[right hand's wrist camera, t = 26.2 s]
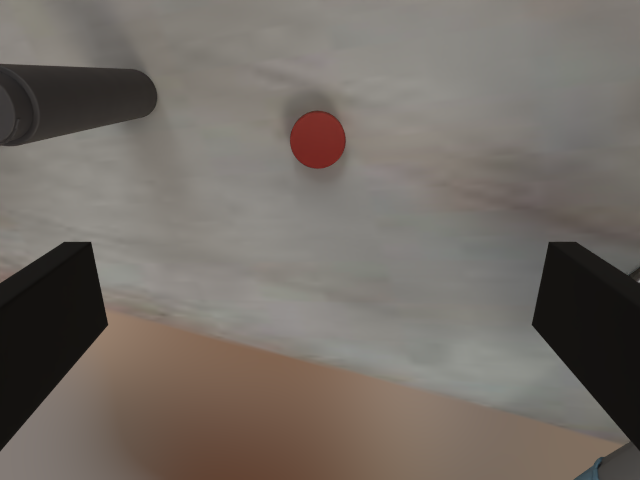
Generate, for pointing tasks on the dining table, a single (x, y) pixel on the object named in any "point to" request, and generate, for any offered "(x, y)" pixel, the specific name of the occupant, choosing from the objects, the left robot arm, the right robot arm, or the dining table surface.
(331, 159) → the lid
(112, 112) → the dark grey cylinder
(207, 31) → the dining table surface
